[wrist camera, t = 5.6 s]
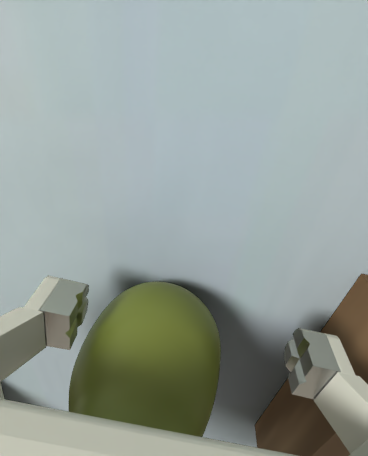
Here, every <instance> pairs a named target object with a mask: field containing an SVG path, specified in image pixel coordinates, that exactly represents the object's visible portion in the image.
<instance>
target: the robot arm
mask: <svg viewBox="0 0 368 456" xmlns="http://www.w3.org/2000/svg"><path fill="white" fill-rule="evenodd" d="M88 292H89V285H88V284H84V283H80V282H76V281H71V280H67V279H63V278H58V277H53V276H47V277H46V278H45V279H44V280H43V281H42V283H41V284H40V285H39V287H38V288H37V290H36V291H35V292H34V294H33V295H32V296H31V298H30V299H29V301H28V302H27V303H26V305H25V306H24V307H18V308H16V309H14V310H12V311H10V312H8V313H6V314H4V315H2V316H0V456H298V455H293V454H287V453H282V452H277V451H272V450H266V449H261V448H256V447H251V446H246V445H240V444H235V443H230V442H225V441H220V440H214V439H209V438H204V437H199V436H193V435H188V434H183V433H178V432H172V431H167V430H162V429H157V428H151V427H146V426H141V425H136V424H130V423H125V422H120V421H115V420H109V419H104V418H99V417H94V416H89V415H83V414H78V413H73V412H68V411H62V410H57V409H52V408H47V407H41V406H36V405H31V404H26V403H20V402H15V401H10V400H5V399H4V395H3V391H2V387H1V381H3V380H4V379H5V378H6V377H8V376H9V375H10V374H12V373H13V372H14V371H16V370H17V369H18V368H19V367H21V366H22V365H23V364H25V363H26V362H27V361H29V360H30V359H31V358H33V357H34V356H35V355H36V354H38V353H39V352H40V351H42V350H43V349H44V348H46V346H50V347H56V348H62V349H67V350H70V348H71V346H72V344H73V342H74V340H75V338H76V336H77V327H78V326H80V325H82V323H83V320H84V318H85V315H86V312H87V308H88V299H87V297H86V296H87V294H88ZM293 337H294V339H292V340H290V341H288V342H287V344H286V346H285V349H284V362H285V366H286V367H287V368H288V370H289V371H290V374H289V376H288V380H289V384H290V388H291V393H292V394H293V395H297V396H302V397H306V398H310V399H314V402H315V403H316V405H317V406H318V408H319V409H320V410H321V412H322V413H323V415H324V416H325V418H326V419H327V421H328V422H329V424H330V425H331V426H332V428H333V429H334V431H335V432H336V434H337V435H338V437H339V438H340V439H341V441H342V442H343V444H344V445H345V447H346V448H347V450H348V451H349V453H350V455H349V456H368V384H367V383H366V382H365V381H364V380H363V379H362V378H361V377H360V376H356V375H355V373H354V370H353V368H352V366H351V364H350V361H349V359H348V357H347V355H346V352H345V350H344V348H343V346H342V343H341V341H340V339H339V338H338V337H337V336H335V335H330V334H326V333H321V332H316V331H311V330H306V329H301V328H298V329H296V330H295V331H294V333H293Z"/></svg>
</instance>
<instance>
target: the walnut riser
mask: <svg viewBox="0 0 368 456" xmlns="http://www.w3.org/2000/svg"><path fill="white" fill-rule="evenodd" d="M321 333H326V334H330V335H335V336H337V337H338V338H339V339H340V341H341V343H342V346H343V348H344V350H345V352H346V355H347V357H348V359H349V361H350V364H351V366H352V368H353V370H354V373H355V375H356V376H360V377H361V378H362V379H363V380H364V381H365V382H366V383H367V384H368V275H365V274H361V275H360V277H359V278H358V279H357V281H356V282H355V284H354V285H353V286H352V288H351V289H350V291H349V292H348V294H347V295H346V296H345V298H344V299H343V301H342V302H341V303H340V305H339V306H338V308H337V309H336V311H335V312H334V313H333V315H332V316H331V318H330V319H329V321H328V322H327V323H326V325H325V326H324V328H323V329H322V330H321ZM255 431H256V440H257V448H261V449H266V450H272V451H277V452H282V453H287V454H293V455H298V456H349V455H350V453H349V451H348V450H347V448H346V447H345V445H344V444H343V442H342V441H341V439H340V438H339V437H338V435H337V434H336V432H335V431H334V429H333V428H332V426H331V425H330V424H329V422H328V421H327V419H326V418H325V416H324V415H323V413H322V412H321V410H320V409H319V408H318V406H317V405H316V403H315V402H314V399H310V398H306V397H302V396H297V395H293V394H292V393H291V388H290V384H289V380H288V379H287V380H286V382H285V383H284V384H283V386H282V387H281V389H280V390H279V391H278V393H277V394H276V396H275V397H274V399H273V400H272V401H271V403H270V404H269V406H268V407H267V409H266V410H265V411H264V413H263V414H262V416H261V417H260V418H259V420H258V421H257V423H256V424H255Z"/></svg>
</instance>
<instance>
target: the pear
mask: <svg viewBox="0 0 368 456" xmlns="http://www.w3.org/2000/svg"><path fill="white" fill-rule="evenodd" d="M220 358H221V345H220V337H219V332H218V329H217V326H216V323H215V321H214V319H213V317H212V315H211V313H210V312H209V310H208V309H207V307H206V306H205V305H204V304H203V302H202V301H201V300H200V299H199V298H198V297H196V296H195V295H194V294H193V293H191V292H190V291H188V290H187V289H185V288H183V287H180V286H178V285H175V284H171V283H167V282H146V283H142V284H138V285H136V286H133V287H131V288H129V289H127V290H126V291H124V292H122V293H121V294H120V295H118V296H117V297H116V298H115V299H114V300H113V301H112V302H111V303H110V304H109V305H108V306H107V307H106V308H105V309H104V311H103V312H102V313H101V315H100V316H99V317H98V319H97V320H96V322H95V323H94V325H93V327H92V328H91V330H90V332H89V333H88V335H87V337H86V339H85V341H84V343H83V345H82V347H81V349H80V352H79V354H78V357H77V359H76V362H75V365H74V368H73V372H72V376H71V381H70V389H69V412H73V413H78V414H83V415H89V416H94V417H99V418H104V419H109V420H115V421H120V422H125V423H130V424H136V425H141V426H146V427H151V428H157V429H162V430H167V431H172V432H178V433H183V434H188V435H193V436H199V437H202V436H203V434H204V431H205V429H206V426H207V424H208V421H209V418H210V415H211V411H212V408H213V404H214V400H215V396H216V391H217V385H218V379H219V370H220Z"/></svg>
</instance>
